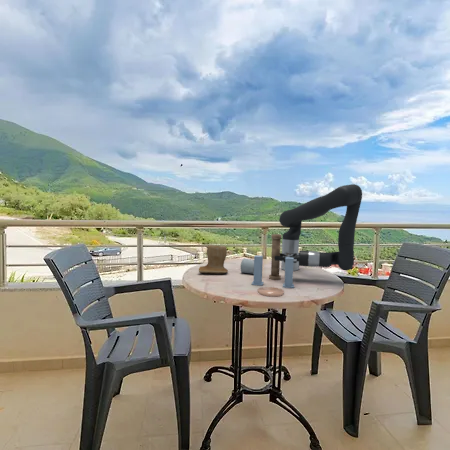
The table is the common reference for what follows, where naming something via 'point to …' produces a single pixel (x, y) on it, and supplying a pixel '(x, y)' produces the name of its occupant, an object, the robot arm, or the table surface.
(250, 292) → the table surface
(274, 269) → the candlestick
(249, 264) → the ceramic mug
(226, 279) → the table surface
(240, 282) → the table surface
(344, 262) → the robot arm
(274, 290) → the disc
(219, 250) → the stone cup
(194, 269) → the table surface
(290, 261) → the blue pillar pair
